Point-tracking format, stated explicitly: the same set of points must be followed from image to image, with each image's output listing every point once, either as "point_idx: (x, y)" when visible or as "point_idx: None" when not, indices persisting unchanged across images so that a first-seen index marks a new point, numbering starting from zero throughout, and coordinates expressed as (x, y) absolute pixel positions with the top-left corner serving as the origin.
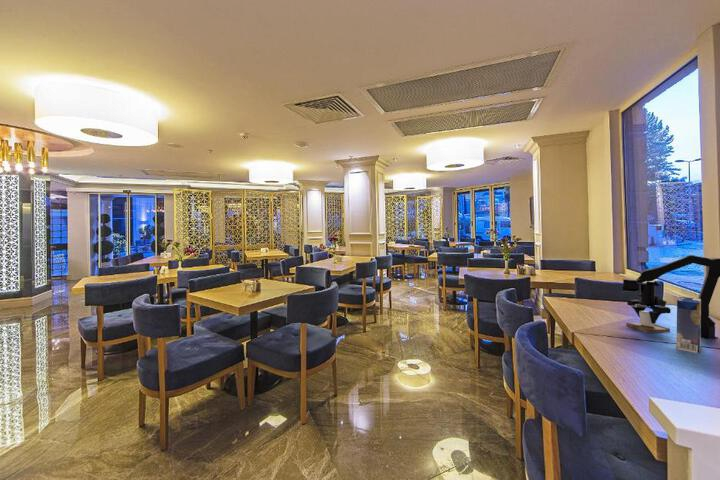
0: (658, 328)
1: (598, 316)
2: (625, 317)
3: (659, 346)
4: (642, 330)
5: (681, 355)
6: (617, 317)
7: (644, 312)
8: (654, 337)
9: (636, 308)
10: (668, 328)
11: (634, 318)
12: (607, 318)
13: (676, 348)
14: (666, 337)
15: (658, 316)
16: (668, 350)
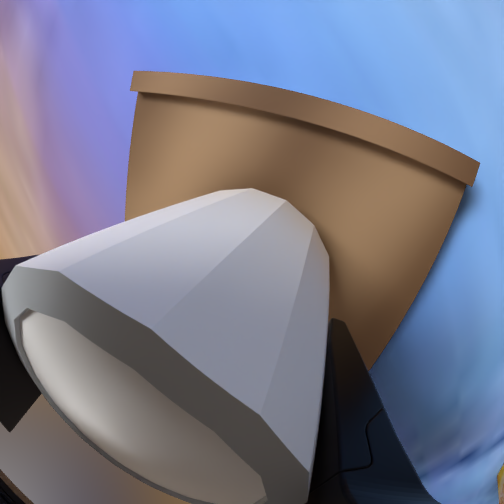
0: (377, 245)
1: (2, 233)
2: (16, 77)
3: (444, 494)
4: None
5: (497, 494)
6: (9, 136)
7: (145, 473)
8: (413, 440)
9: (14, 418)
10: (469, 173)
11: (40, 29)
12: (20, 228)
13: (497, 476)
14: (475, 388)
15: (398, 455)
16: (469, 496)
